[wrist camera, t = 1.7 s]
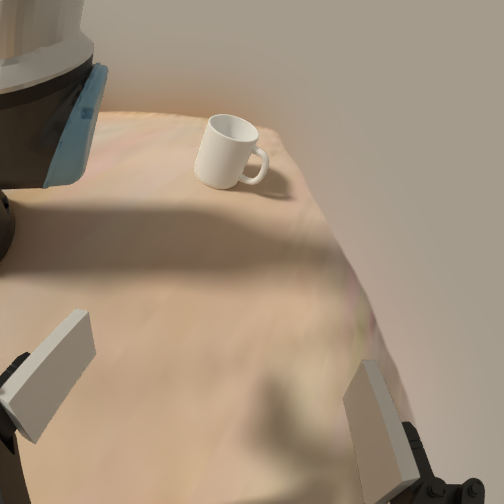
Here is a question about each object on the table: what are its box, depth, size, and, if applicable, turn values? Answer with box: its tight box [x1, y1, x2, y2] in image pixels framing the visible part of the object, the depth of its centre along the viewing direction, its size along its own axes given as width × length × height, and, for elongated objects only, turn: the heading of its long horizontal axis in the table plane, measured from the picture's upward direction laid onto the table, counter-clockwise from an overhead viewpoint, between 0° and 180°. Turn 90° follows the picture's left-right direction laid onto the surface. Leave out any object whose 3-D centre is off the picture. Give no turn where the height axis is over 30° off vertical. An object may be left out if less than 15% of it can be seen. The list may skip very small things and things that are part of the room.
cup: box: [194, 114, 269, 189], centre depth 45 cm, size 8×12×10 cm
